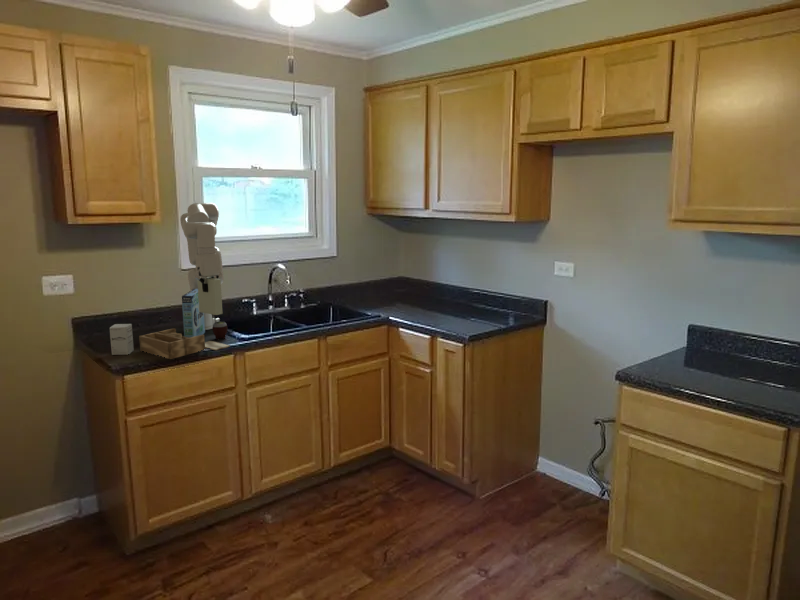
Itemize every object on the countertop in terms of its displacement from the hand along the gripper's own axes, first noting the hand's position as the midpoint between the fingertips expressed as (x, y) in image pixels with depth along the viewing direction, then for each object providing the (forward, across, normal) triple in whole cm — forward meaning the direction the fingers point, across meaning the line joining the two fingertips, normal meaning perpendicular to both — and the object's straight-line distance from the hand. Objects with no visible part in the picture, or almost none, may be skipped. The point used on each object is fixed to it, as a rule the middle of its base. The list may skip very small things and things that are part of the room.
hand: (209, 290), depth 269 cm
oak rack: (+26, +15, -9) cm, 31 cm away
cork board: (+26, 0, 0) cm, 26 cm away
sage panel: (+10, 0, 0) cm, 10 cm away
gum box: (+26, -5, -20) cm, 34 cm away
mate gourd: (+26, -11, -9) cm, 30 cm away
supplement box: (+26, +30, -24) cm, 47 cm away
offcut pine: (+23, +11, -13) cm, 29 cm away
